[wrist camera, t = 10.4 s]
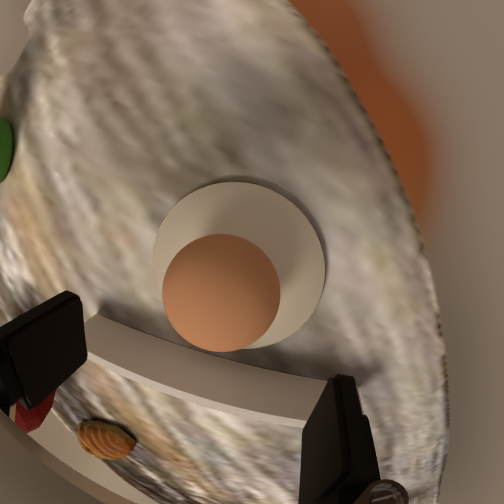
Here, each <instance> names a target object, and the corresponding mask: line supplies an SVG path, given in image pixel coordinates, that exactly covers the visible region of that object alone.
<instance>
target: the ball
mask: <svg viewBox="0 0 504 504" xmlns="http://www.w3.org/2000/svg"><path fill="white" fill-rule="evenodd" d="M162 298H163V305H164V309H165V312H166V314H167V317H168V319H169V321H170V323H171V324H172V326H173V327H174V329H175V330H176V331H177V332H178V333H179V334H180V335H181V336H182V337H183V338H184V339H185V340H187V341H188V342H190V343H191V344H193V345H195V346H197V347H199V348H202V349H205V350H208V351H214V352H230V351H235V350H239V349H242V348H244V347H246V346H249V345H251V344H252V343H254V342H255V341H257V340H258V339H259V338H260V337H262V336H263V335H264V334H265V333H266V331H267V330H268V329H269V328H270V326H271V324H272V323H273V321H274V319H275V317H276V315H277V312H278V308H279V305H280V283H279V278H278V275H277V272H276V270H275V268H274V266H273V264H272V262H271V261H270V259H269V258H268V256H267V255H266V254H265V253H264V252H263V251H262V250H261V249H260V248H259V247H258V246H256V245H255V244H253V243H252V242H250V241H248V240H246V239H244V238H241V237H238V236H234V235H229V234H213V235H207V236H204V237H201V238H198V239H196V240H194V241H192V242H190V243H189V244H187V245H186V246H184V247H183V248H182V249H181V250H180V251H179V252H178V253H177V254H176V255H175V257H174V258H173V259H172V261H171V262H170V264H169V266H168V268H167V271H166V273H165V276H164V280H163V287H162Z"/></svg>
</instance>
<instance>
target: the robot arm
mask: <svg viewBox="0 0 504 504" xmlns="http://www.w3.org/2000/svg"><path fill="white" fill-rule="evenodd" d="M87 357H88V353H87V346H86V338H85V329H84V319H83V307H82V302H81V301H80V297H79V296H78V295H76V294H74V293H72V292H70V291H67V290H66V291H64V292H62V293H60V294H58V295H56V296H54V297H53V298H51V299H49V300H47V301H45V302H43V303H42V304H40V305H38V306H36V307H34V308H33V309H31V310H29V311H27V312H25V313H24V314H22V315H20V316H18V317H17V318H15V319H13V320H12V321H10V322H8V323H6V324H5V325H3V326H1V327H0V504H137V503H134V502H132V501H130V500H128V499H126V498H124V497H122V496H120V495H118V494H115V493H114V492H112V491H109V490H108V489H106V488H104V487H103V486H101V485H99V484H97V483H95V482H94V481H92V480H90V479H88V478H87V477H85V476H84V475H82V474H80V473H79V472H77V471H76V470H74V469H73V468H71V467H70V466H68V465H67V464H65V463H64V462H62V461H61V460H59V459H58V458H57V457H55V456H54V455H53V454H51V453H50V452H49V451H47V450H46V449H45V448H44V447H42V446H41V445H40V444H38V443H37V442H36V441H35V440H33V439H32V438H31V437H30V436H29V435H28V434H26V433H25V432H24V431H23V430H22V429H21V428H20V427H19V426H17V425H16V424H15V411H16V401H18V400H19V402H20V404H21V405H22V406H24V407H25V408H26V409H27V410H28V411H30V410H31V409H32V408H33V407H37V406H38V405H40V404H41V403H42V402H43V401H44V400H45V399H46V398H47V397H48V396H49V395H50V394H51V393H52V392H53V391H54V390H55V389H56V388H58V387H59V386H60V385H61V384H62V383H63V382H64V381H65V380H66V379H67V378H68V377H69V376H71V375H72V374H73V373H74V372H75V371H76V370H77V369H78V368H79V367H80V366H81V365H83V364H84V363H85V362H86V360H87ZM408 503H409V497H408V493H407V491H406V490H405V488H404V487H403V486H402V485H401V484H399V483H398V482H396V481H393V480H388V479H382V480H381V478H380V473H379V467H378V462H377V457H376V452H375V447H374V442H373V437H372V433H371V428H370V424H369V420H368V417H367V416H366V415H363V414H362V409H361V405H360V400H359V396H358V392H357V387H356V383H355V379H354V377H353V376H347V375H340V374H337V375H336V376H335V377H334V378H332V377H330V378H329V380H328V382H327V384H326V386H325V388H324V390H323V392H322V394H321V396H320V398H319V400H318V402H317V404H316V406H315V407H314V409H313V411H312V413H311V415H310V417H309V419H308V420H307V422H306V424H305V426H304V428H303V432H302V450H301V472H300V489H299V503H298V504H408Z"/></svg>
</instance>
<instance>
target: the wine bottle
mask: <svg viewBox="0 0 504 504" xmlns="http://www.w3.org/2000/svg"><path fill="white" fill-rule="evenodd" d="M12 149H13V137H12V130H11V127H10V125H9V123H8V122H7V121H6V120H4V119H3V118H0V183H1V182H2V181H3V179H4V178H5V176H6V174H7V171H8V168H9V165H10V161H11V156H12Z"/></svg>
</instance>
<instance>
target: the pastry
mask: <svg viewBox="0 0 504 504" xmlns="http://www.w3.org/2000/svg"><path fill="white" fill-rule="evenodd" d="M78 441H79V443H80V445H81V446H82V448H83V449H84V450H85V451H86V452H87V453H89V454H91V455H94V456H95V457H96V458H106V459H110V460H117V459H121V458H124V457H126V456H127V455H129V453H130V452H131V451H133V450H134V447H135V442H136V441H135V440H134V439H132V438H131V437H130V436H129V435H128V434H127V433H125V432H124V431H123V430H122V429H121V428H119V427H118V426H116V425H112V424H108V423H105V422H103V421H100V420H97V421H86V422H82V423H79V424H78Z"/></svg>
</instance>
